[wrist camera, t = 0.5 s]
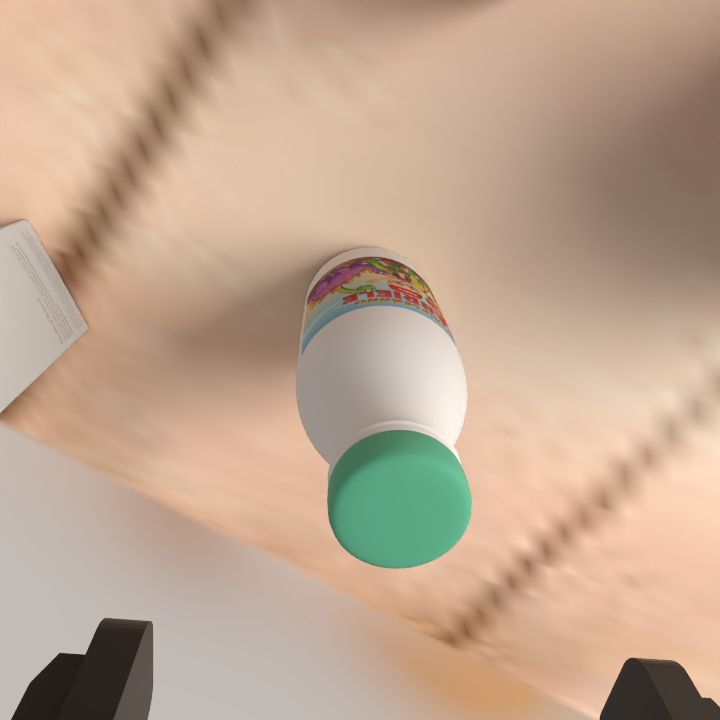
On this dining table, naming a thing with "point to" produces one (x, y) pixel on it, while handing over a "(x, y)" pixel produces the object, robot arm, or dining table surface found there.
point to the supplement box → (31, 311)
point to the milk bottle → (384, 408)
